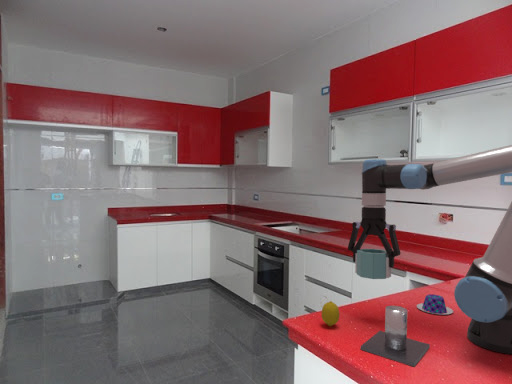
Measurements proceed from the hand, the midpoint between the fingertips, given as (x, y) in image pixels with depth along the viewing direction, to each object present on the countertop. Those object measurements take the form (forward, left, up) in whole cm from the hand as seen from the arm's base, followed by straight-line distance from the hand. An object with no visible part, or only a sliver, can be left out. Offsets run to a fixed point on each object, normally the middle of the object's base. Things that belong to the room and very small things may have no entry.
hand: (372, 274), depth 118 cm
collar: (0, 0, 0) cm, 0 cm away
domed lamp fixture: (-13, +15, -16) cm, 25 cm away
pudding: (-13, -27, -16) cm, 34 cm away
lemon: (+8, +13, -16) cm, 22 cm away
